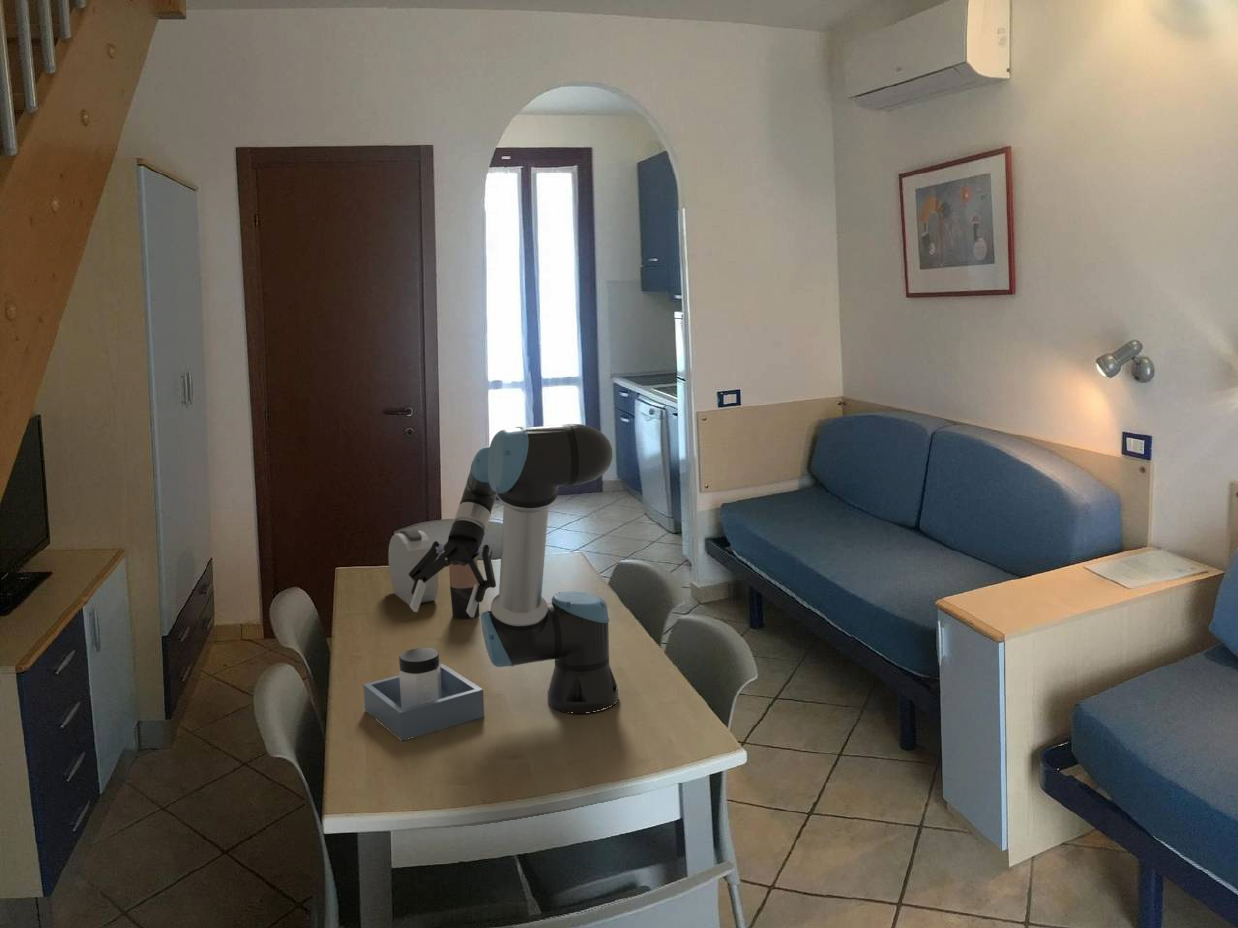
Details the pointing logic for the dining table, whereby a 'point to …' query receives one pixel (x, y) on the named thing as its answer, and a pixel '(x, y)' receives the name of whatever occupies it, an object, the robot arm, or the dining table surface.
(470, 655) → the dining table surface
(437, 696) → the jar
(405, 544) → the alarm clock
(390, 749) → the dining table surface
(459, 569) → the travel mug
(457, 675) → the bin
